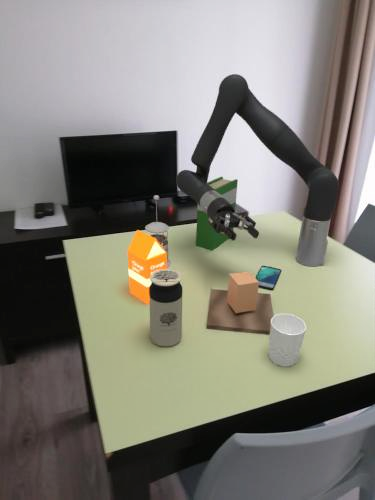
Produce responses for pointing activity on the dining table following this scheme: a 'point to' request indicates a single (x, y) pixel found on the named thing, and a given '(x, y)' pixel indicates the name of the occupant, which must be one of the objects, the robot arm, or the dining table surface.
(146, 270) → the orange juice
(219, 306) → the post base
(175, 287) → the travel mug
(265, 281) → the smartphone
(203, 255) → the dining table surface
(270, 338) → the white cup
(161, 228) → the french press
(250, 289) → the tall peach pillar
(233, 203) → the hardback book
